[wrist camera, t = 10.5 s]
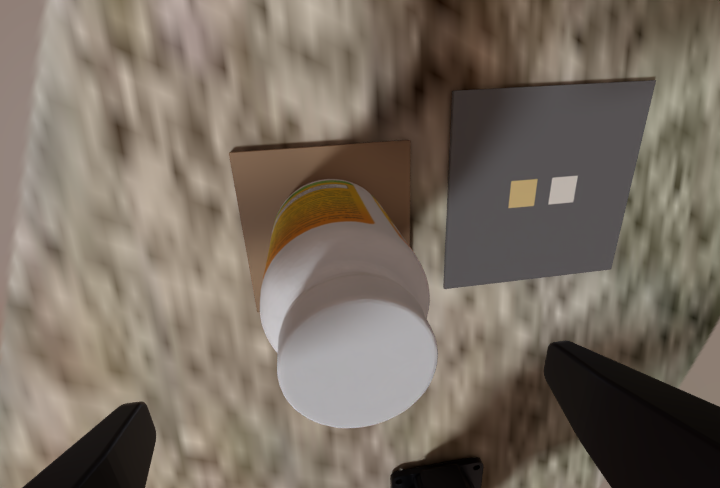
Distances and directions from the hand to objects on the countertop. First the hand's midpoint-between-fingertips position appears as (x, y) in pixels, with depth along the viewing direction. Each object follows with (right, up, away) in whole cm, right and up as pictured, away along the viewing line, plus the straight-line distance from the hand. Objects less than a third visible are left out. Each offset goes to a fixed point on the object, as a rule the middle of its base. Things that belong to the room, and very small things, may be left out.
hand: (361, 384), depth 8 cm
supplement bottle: (-2, +4, +10) cm, 11 cm away
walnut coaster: (-2, +4, +10) cm, 11 cm away
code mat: (+9, +6, +11) cm, 15 cm away
